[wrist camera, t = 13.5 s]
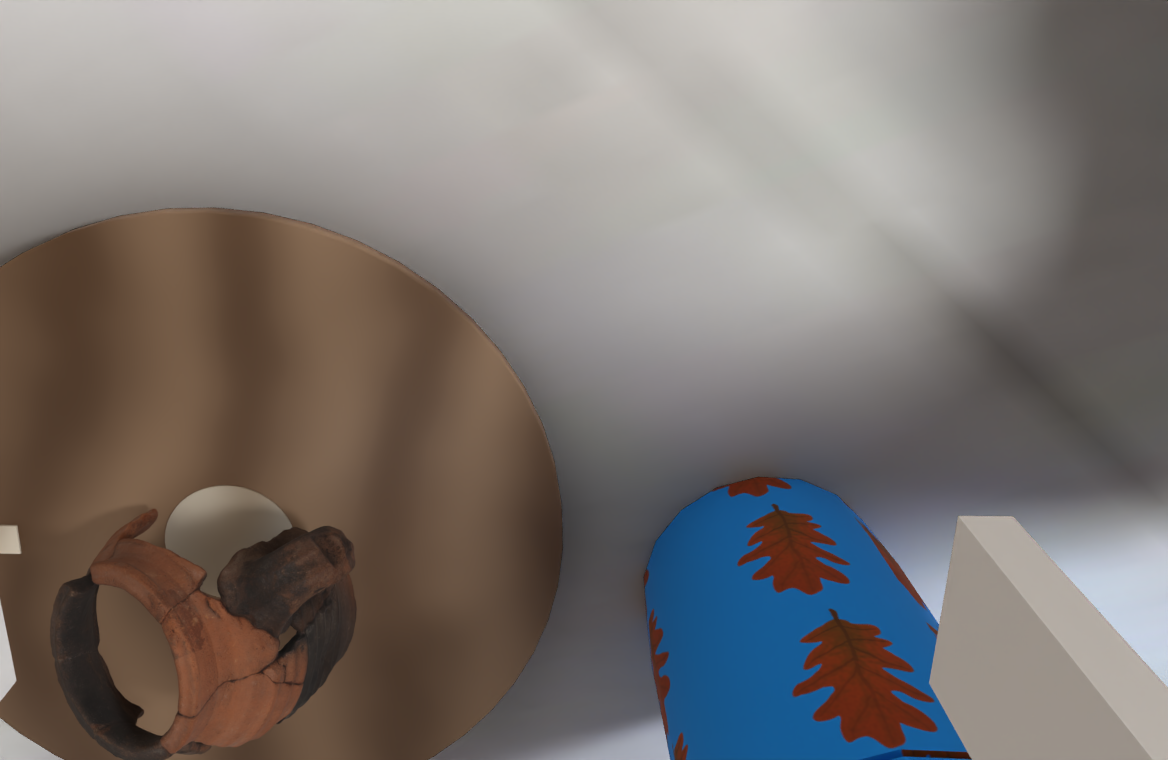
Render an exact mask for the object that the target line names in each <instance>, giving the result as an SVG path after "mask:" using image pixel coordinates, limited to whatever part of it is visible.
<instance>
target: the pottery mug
mask: <svg viewBox="0 0 1168 760" xmlns="http://www.w3.org/2000/svg"><path fill="white" fill-rule="evenodd" d="M157 517H158V511H157V509H151V510H149V511H148V512H146V513H143V514H140V515H139V516H137V517H136V518H134V519H133V520H132V521H130V522H129V523H128V524H126V525H124V526H123V527H121V528H120V529H119V530H117V531H116V532H115V533H114V534H113V535H112V536H111V537H110V539H109V540H108V541H107V542H106V544H105V546H104V547H103V548H102V549H101V551H100V552H99V553H98V555H97V557H96V558H95V559H94V560H93V562H92V564H91V566H90V567H89V569H88V571H87V574H86V576H83V577H81V578H78V579H74V580H71V581H68V582H65V583H63V584H62V586H61V587H60V589H59V591H58V594H57V596H56V599H55V602H54V605H53V611H52V615H51V620H50V622H51V624H50V643H51V648H52V655H53V657H54V659H55V670H56V674H57V677H58V682H59V684H60V686H61V688H62V690H63V692H64V695H65V698H66V701H67V703H68V705H69V707H70V708H71V710H72V712H73V713H74V715H75V717H76V719H77V720H78V722H79V724H81V726H82V727H83V728H84V729H85V730H86V732H87V733H88V734H89V735H90V737H91V738H93V739H94V740H96V741H97V743H98V744H99V745H100V746H102V747H103V748H104V749H106V750H107V751H108V752H110V753H111V754H113V755H114V756H115V757H119V758H121V759H123V760H166V759H168V758H170V757H171V756H172V755H173V754H175V753H177V754H184V755H193V754H203V753H205V752H207V751H208V750H210V749H211V747H212V746H211V745H215V746H218V747H228V746H229V747H239V746H241V745H243V744H244V743H246V742H248V741H250V740H254V739H258V738H260V737H261V736H263V735H264V734H265V733H267V732H268V731H269V730H270V729H271V728H272V727H273V726H274V725H275V724H280V723H281V722H282V721H283V720H285V719H287V718H289V717H291V716H292V715H293V714H294V713H295V712H296V711H297V710H298V708H300V707H302V706H303V705H304V704H305V703H306V702H307V701H308V700H309V699H310V697H311V696H312V695H314V694H315V693H316V691H317V690H318V688H320V687H321V686H322V685H323V684H324V683H325V681H326V680H327V678H328V675H329V674H330V672H331V671H332V669H333V667H334V666H335V665H336V664H337V663H338V662H339V660H340V659H341V658H342V657H343V656H344V654H345V653H346V651H347V649H348V647H349V644H350V642H351V640H352V637H353V633H354V628H355V622H356V612H357V606H356V600H355V597H354V589H353V585H352V581H351V578H350V575H349V573H350V572H351V571H352V570H353V568H354V566H355V555H354V545H353V543H352V542H351V541H350V540H349V539H347V537H346V536H345V534H344V533H343V531H341V530H339V529H336V528H334V527H331V526H322V527H319V528H317V529H314V530H312V531H310V532H308V531H306V530H303V529H300V528H298V527H292V528H291V529H287V530H283V531H282V532H281V533H280V534H278V535H277V536H276V537H273V538H272V539H271V540H270V541H268V542H265V541H261V542H258V543H256V544H254V545H252V546H250V547H248V548H243V549H241V550H239V551H237V552H236V553H235V554H234V555H233V556H232V558H231V559H230V561H229V563H228V564H227V565H226V566H225V567H224V568H223V569H222V571H221V572H220V574H219V577H218V579H217V589H218V592H219V595H220V597H221V598H220V599H216V598H213V597H210V596H208V595H207V594H206V593H204V592H202V591H201V590H200V587H201V586H202V585H203V582H204V580H205V579H206V577H207V572H206V570H204V569H203V568H202V567H200V566H198V565H196V564H194V563H192V562H190V561H188V560H187V559H185V558H182V557H180V556H179V555H178V554H176V553H174V552H173V551H171V550H169V549H165V548H161V547H158V546H155V545H153V544H151V543H149V542H146V541H143V540H139V539H134V538H135V537H137V536H139V535H140V534H142V533H144V532H145V531H146V530H148V529H149V528H150V527H151V526H152V524H154V522H155V521H156V520H157ZM99 585H108V586H113V587H117V588H121V589H123V590H125V591H126V592H128V593H129V594H130V595H132V596H133V597H134V598H136V599H137V600H138V601H139V602H140V603H141V604H142V605H143V606H144V607H145V608H146V609H147V610H148V612H149V613H150V614H151V615H152V616H153V617H154V618H155V619H156V620H157V622H158V623H160V624H161V626H162V629H163V632H164V634H165V636H166V639H167V641H168V643H169V646H170V649H171V652H172V655H173V659H174V663H175V667H176V671H177V677H178V688H179V698H178V712H177V714H176V716H175V719H174V721H173V724H172V725H171V727H170V729H169V730H168V731H167V732H166V733H165V734H164V735H162V736H160V735H156V734H153V733H151V732H148V731H146V730H144V729H142V728H140V727H138V726H136V724H137V719H138V718H140V717H142V716H143V714H144V710H143V709H142V708H141V707H140V706H138V705H136V704H133V703H131V702H130V701H128V700H127V699H125V698H124V696H123V695H122V694H121V693H120V691H119V690H118V689H117V688H116V686H115V685H114V682H113V679H112V677H111V675H110V672H109V669H108V666H107V664H106V663H105V661H104V659H103V657H102V656H101V655H100V653H99V651H98V646H99V643H100V635H99V627H98V621H97V612H96V600H97V593H98V589H99ZM289 626H292V627H293V628H294V629H295V630H296V631H297V632H296V635H294V636H293V637H292V638H291V639H290V641H289V642H288V643H287V644H286V645H285V646H284V647H283V648H282V649H281V650H280V651H279V647H280V640H279V636H280V635H281V634H283V633H285V632H286V631H287V630H288V628H289ZM195 741H196V742H195Z"/></svg>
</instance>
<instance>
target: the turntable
mask: <svg viewBox="0 0 1168 760" xmlns="http://www.w3.org/2000/svg"><path fill="white" fill-rule="evenodd" d="M151 509H157V511H158V517H157V520H156V521H155V522H154V524H152V526H151V527H150V528H149V529H148V530H146V531H145V532H144V533H142V534H140V535H139V536H137V537H135V538H134V539H139V540H143V541H146V542H149V543H151V544H153V545H155V546H158V547H161V548H165V549H169V550H171V551H173V552H174V553H176V554H178V555H179V556H180V557H182V558H185V559H187V560H188V561H190V562H192V563H194V564H196V565H198V566H200V567H202V568H203V569H204V570H206V572H207V577H206V579H205V580H204V582H203V585H202V586H201V587H200V590H201V591H202V592H204V593H206V594H207V595H208V596H210V597H213V598H216V599H220V598H221V597H220V595H219V592H218V589H217V579H218V577H219V574H220V572H221V571H222V569H223V568H224V567H225V566H226V565H227V564H228V563H229V561H230V559H231V558H232V556H233V555H234V554H235V553H236V552H237V551H239V550H241V549H243V548H248V547H250V546H252V545H254V544H256V543H258V542H261V541H265V542H268V541H270V540H271V539H272V538H273V537H276V536H277V535H278V534H280V533H281V532H282V531H283V530H287V529H291V528H292V527H298V528H300V529H303V530H306V531H308V532H310V531H312V530H314V529H317V528H319V527H322V526H331V527H334V528H336V529H339V530H341V531H343V533H344V534H345V536H346V537H347V539H349V540H350V541H351V542H352V543H353V545H354V555H355V566H354V568H353V570H352V571H351V572H350V573H349V575H350V578H351V581H352V585H353V589H354V597H355V600H356V606H357V612H356V622H355V628H354V633H353V637H352V640H351V642H350V644H349V647H348V649H347V651H346V653H345V654H344V656H343V657H342V658H341V659H340V660H339V662H338V663H337V664H336V665H335V666H334V667H333V669H332V671H331V672H330V674H329V675H328V678H327V680H326V681H325V683H324V684H323V685H322V686H321V687H320V688H318V690H317V691H316V693H315V694H314V695H312V696H311V697H310V699H309V700H308V701H307V702H306V703H305V704H304V705H303V706H302V707H300V708H298V710H297V711H296V712H295V713H294V714H293V715H292V716H291V717H289V718H287V719H285V720H283V721H282V722H281V723H280V724H275V725H274V726H273V727H272V728H271V729H270V730H269V731H268V732H267V733H265V734H264V735H263V736H261V737H260V738H258V739H254V740H250V741H248V742H246V743H244V744H243V745H241V746H239V747H229V746H228V747H218V746H215V745H211V746H212V747H211V749H210V750H208V751H207V752H205V753H203V754H193V755H184V754H177V753H175V754H173V755H172V756H171V757H170V758H168V759H166V760H428V759H430V758H432V757H434V756H435V755H437V754H438V753H439V752H441V751H442V750H444V749H445V748H447V747H448V746H449V745H451V744H452V743H454V742H455V741H457V740H458V739H459V738H461V737H462V736H464V735H465V734H466V733H467V732H468V731H469V730H470V729H471V728H473V727H474V726H475V725H476V724H477V723H478V722H479V721H480V720H481V719H483V718H484V717H485V716H486V715H487V714H488V713H489V712H490V711H491V710H492V709H493V708H494V707H495V705H496V704H497V703H498V702H499V701H500V700H501V698H502V697H503V696H504V695H505V694H506V692H507V691H508V690H509V689H510V688H511V687H512V685H513V684H514V683H515V681H516V680H517V678H518V677H519V675H520V673H521V672H522V670H523V669H524V667H525V665H526V664H527V662H528V661H529V659H530V658H531V656H532V654H533V653H534V651H535V648H536V646H537V644H538V642H539V639H540V637H541V635H542V633H543V630H544V628H545V626H546V624H547V622H548V619H549V615H550V612H551V608H552V605H553V601H554V598H555V594H556V590H557V587H558V581H559V573H560V566H561V558H562V550H563V541H562V506H561V497H560V491H559V485H558V479H557V473H556V467H555V461H554V458H553V455H552V452H551V449H550V446H549V443H548V440H547V437H546V433H545V430H544V427H543V424H542V422H541V420H540V418H539V416H538V414H537V412H536V410H535V407H534V405H533V403H532V401H531V399H530V397H529V395H528V393H527V391H526V389H525V387H524V385H523V384H522V382H521V381H520V379H519V378H518V376H517V375H516V373H515V372H514V370H513V369H512V367H511V366H510V364H509V363H508V361H507V360H506V358H505V357H504V355H503V354H502V352H501V351H500V350H499V349H498V348H497V346H496V345H495V344H494V343H493V342H492V341H491V340H490V338H489V337H488V336H487V335H486V334H485V333H484V332H483V330H482V329H481V328H480V327H479V326H478V325H477V324H476V322H475V321H474V320H473V319H472V318H471V317H470V316H469V315H467V314H466V313H465V312H464V311H463V310H462V309H461V308H460V307H458V306H457V305H456V304H455V303H454V302H453V301H452V300H450V299H449V298H448V297H447V296H446V295H445V294H444V293H443V292H441V291H440V290H439V289H438V288H436V287H435V286H434V285H432V284H431V283H429V282H428V281H426V280H425V279H423V278H422V277H420V276H419V275H417V274H416V273H414V272H413V271H412V270H410V269H409V268H407V267H406V266H404V265H403V264H401V263H400V262H398V261H396V260H394V259H392V258H390V257H388V256H386V255H384V254H382V253H380V252H378V251H377V250H375V249H373V248H371V247H369V246H367V245H365V244H363V243H361V242H359V241H357V240H354V239H352V238H349V237H346V236H343V235H341V234H338V233H335V232H333V231H330V230H327V229H324V228H322V227H319V226H316V225H313V224H310V223H306V222H302V221H297V220H293V219H289V218H285V217H280V216H276V215H272V214H267V213H262V212H253V211H243V210H234V209H224V208H170V209H160V210H154V211H147V212H141V213H134V214H128V215H121V216H117V217H114V218H110V219H107V220H103V221H100V222H97V223H93V224H90V225H86V226H83V227H80V228H76V229H73V230H71V231H69V232H67V233H65V234H62V235H60V236H58V237H56V238H54V239H52V240H49V241H47V242H45V243H43V244H41V245H38V246H36V247H34V248H32V249H30V250H28V251H26V252H24V253H22V254H20V255H18V256H17V257H15V258H14V259H12V260H11V261H9V262H8V263H6V264H4V265H3V266H1V267H0V601H1V606H2V611H3V616H4V621H5V626H6V631H7V636H8V641H9V646H10V651H11V656H12V661H13V666H14V671H15V676H16V682H15V684H14V685H13V686H12V687H11V689H10V690H9V691H8V692H7V694H6V695H5V696H4V697H3V699H2V700H1V701H0V718H1V719H2V720H4V721H5V722H6V723H7V724H9V725H10V726H11V727H13V728H14V729H15V730H16V731H18V732H19V733H20V734H22V735H23V736H25V737H27V738H28V739H30V740H32V741H33V742H35V743H36V744H38V745H40V746H41V747H43V748H44V749H46V750H48V751H49V752H51V753H52V754H54V755H56V756H58V757H60V758H62V759H64V760H123V759H121V758H119V757H115V756H114V755H113V754H111V753H110V752H108V751H107V750H106V749H104V748H103V747H102V746H100V745H99V744H98V743H97V741H96V740H94V739H93V738H91V737H90V735H89V734H88V733H87V732H86V730H85V729H84V728H83V727H82V726H81V724H79V722H78V720H77V719H76V717H75V715H74V713H73V712H72V710H71V708H70V707H69V705H68V703H67V701H66V698H65V695H64V692H63V690H62V688H61V686H60V684H59V682H58V677H57V674H56V670H55V659H54V657H53V655H52V648H51V643H50V624H51V622H50V620H51V615H52V611H53V605H54V602H55V599H56V596H57V594H58V591H59V589H60V587H61V586H62V584H63V583H65V582H68V581H71V580H74V579H78V578H81V577H83V576H86V574H87V571H88V569H89V567H90V566H91V564H92V562H93V560H94V559H95V558H96V557H97V555H98V553H99V552H100V551H101V549H102V548H103V547H104V546H105V544H106V542H107V541H108V540H109V539H110V537H111V536H112V535H113V534H114V533H115V532H116V531H117V530H119V529H120V528H121V527H123V526H124V525H126V524H128V523H129V522H130V521H132V520H133V519H134V518H136V517H137V516H139V515H140V514H143V513H146V512H148V511H149V510H151ZM96 612H97V621H98V627H99V635H100V643H99V646H98V651H99V653H100V655H101V656H102V657H103V659H104V661H105V663H106V664H107V666H108V669H109V672H110V675H111V677H112V679H113V682H114V685H115V686H116V688H117V689H118V690H119V691H120V693H121V694H122V695H123V696H124V698H125V699H127V700H128V701H130V702H131V703H133V704H136V705H138V706H140V707H141V708H142V709H143V710H144V714H143V716H142V717H140V718H138V719H137V724H136V726H138V727H140V728H142V729H144V730H146V731H148V732H151V733H153V734H156V735H160V736H162V735H164V734H165V733H166V732H167V731H168V730H169V729H170V727H171V725H172V724H173V721H174V719H175V716H176V714H177V712H178V698H179V688H178V677H177V671H176V667H175V663H174V659H173V655H172V652H171V649H170V646H169V643H168V641H167V639H166V636H165V634H164V632H163V629H162V626H161V624H160V623H158V622H157V620H156V619H155V618H154V617H153V616H152V615H151V614H150V613H149V612H148V610H147V609H146V608H145V607H144V606H143V605H142V604H141V603H140V602H139V601H138V600H137V599H136V598H134V597H133V596H132V595H130V594H129V593H128V592H126V591H125V590H123V589H121V588H117V587H113V586H108V585H99V589H98V593H97V600H96ZM296 632H297V631H296V630H295V629H294V628H293V627H292V626H289V628H288V630H287V631H286V632H285V633H283V634H281V635H280V636H279V640H280V647H279V651H280V650H281V649H282V648H283V647H284V646H285V645H286V644H287V643H288V642H289V641H290V639H291V638H292V637H293V636H294V635H296ZM195 742H196V741H195Z"/></svg>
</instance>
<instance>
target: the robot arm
mask: <svg viewBox="0 0 1168 760" xmlns="http://www.w3.org/2000/svg"><path fill="white" fill-rule="evenodd" d="M15 682H16V676H15V671H14V666H13V661H12V656H11V651H10V646H9V641H8V636H7V631H6V626H5V621H4V616H3V611H2V606H1V601H0V701H1V700H2V699H3V697H4V696H5V695H6V694H7V692H8V691H9V690H10V689H11V687H12V686H13V685H14V684H15ZM929 684H930V686H931V687H932V689H933V691H934V693H935V695H936V696H937V698H938V700H939V702H940V704H941V705H942V707H943V709H944V711H945V713H946V714H947V716H948V718H949V720H950V721H951V723H952V725H953V727H954V729H955V730H956V732H957V734H958V736H959V738H960V739H961V741H962V743H963V745H964V747H965V748H966V750H967V752H968V754H969V756H970V757H971V759H972V760H1168V687H1167V686H1166V685H1165V684H1164V683H1163V682H1162V681H1161V680H1160V678H1159V677H1158V676H1157V675H1156V674H1155V673H1154V672H1153V671H1152V670H1151V669H1150V667H1149V666H1148V665H1147V664H1146V663H1145V662H1144V661H1143V660H1142V659H1141V657H1140V656H1139V655H1138V654H1137V653H1136V652H1135V651H1134V650H1133V649H1132V648H1131V646H1130V645H1129V644H1128V643H1127V642H1126V641H1125V640H1124V639H1123V638H1122V636H1121V635H1120V634H1119V633H1118V632H1117V631H1116V630H1115V629H1114V628H1113V627H1112V625H1111V624H1110V623H1109V622H1108V621H1107V620H1106V619H1105V618H1104V617H1103V615H1102V614H1101V613H1100V612H1099V611H1098V610H1097V609H1096V608H1095V607H1094V605H1093V604H1092V603H1091V602H1090V601H1089V600H1088V599H1087V598H1086V597H1085V596H1084V594H1083V593H1082V592H1081V591H1080V590H1079V589H1078V588H1077V587H1076V586H1075V584H1074V583H1073V582H1072V581H1071V580H1070V579H1069V578H1068V577H1067V576H1066V575H1065V573H1064V572H1063V571H1062V570H1061V569H1060V568H1059V567H1058V566H1057V565H1056V563H1055V562H1054V561H1053V560H1052V559H1051V558H1050V557H1049V556H1048V555H1047V553H1046V552H1045V551H1044V550H1043V549H1042V548H1041V547H1040V546H1039V545H1038V544H1037V542H1036V541H1035V540H1034V539H1033V538H1032V537H1031V536H1030V535H1029V534H1028V532H1027V531H1026V530H1025V529H1024V528H1023V527H1022V526H1021V525H1020V524H1019V523H1018V521H1017V520H1016V519H1015V518H1014V517H1013V516H958V520H957V525H956V531H955V537H954V543H953V548H952V554H951V560H950V566H949V571H948V577H947V583H946V589H945V594H944V600H943V606H942V612H941V617H940V623H939V629H938V635H937V640H936V646H935V652H934V658H933V663H932V669H931V675H930V681H929Z"/></svg>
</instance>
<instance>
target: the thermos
mask: <svg viewBox="0 0 1168 760" xmlns="http://www.w3.org/2000/svg"><path fill="white" fill-rule="evenodd" d="M644 589H645V604H646V616H647V626H648V635H649V644H650V653H651V662H652V669H653V674H654V679H655V684H656V689H657V694H658V699H659V704H660V709H661V714H662V719H663V724H664V729H665V734H666V739H667V744H668V749H669V754H670V759H671V760H972V759H971V757H970V756H969V754H968V752H967V750H966V748H965V747H964V745H963V743H962V741H961V739H960V738H959V736H958V734H957V732H956V730H955V729H954V727H953V725H952V723H951V721H950V720H949V718H948V716H947V714H946V713H945V711H944V709H943V707H942V705H941V704H940V702H939V700H938V698H937V696H936V695H935V693H934V691H933V689H932V687H931V686H930V684H929V681H930V675H931V669H932V663H933V658H934V652H935V646H936V640H937V635H938V629H939V624H938V623H937V621H936V620H935V618H934V617H933V615H932V614H931V612H930V611H929V609H928V608H927V606H926V605H925V603H924V602H923V600H922V599H921V597H920V596H919V594H918V593H917V591H916V590H915V588H914V587H913V585H912V584H911V583H910V581H909V580H908V578H907V577H906V575H905V574H904V572H903V571H902V569H901V568H900V566H899V565H898V563H897V562H896V561H895V560H894V559H893V557H892V556H891V555H890V554H889V552H888V551H887V550H886V549H885V547H884V546H883V545H882V544H881V543H880V541H879V540H878V539H877V538H876V536H875V535H874V534H873V533H872V532H871V530H870V529H869V528H868V527H867V525H866V524H865V523H864V522H863V521H862V520H861V519H860V518H859V517H858V516H857V515H856V514H855V513H854V512H853V511H852V510H851V509H850V508H849V507H848V506H847V505H846V504H845V503H844V502H843V501H842V500H841V499H840V498H839V497H838V496H837V495H836V494H833V493H831V492H829V491H826V490H824V489H822V488H819V487H817V486H814V485H812V484H810V483H807V482H805V481H803V480H800V479H785V478H769V477H756V478H752V479H748V480H745V481H741V482H737V483H733V484H729V485H725V486H721V487H717V488H716V489H714V490H712V491H711V492H709V493H708V494H706V495H704V496H703V497H701V498H700V499H698V500H697V501H695V502H693V503H692V504H690V505H689V506H687V507H685V508H684V509H682V510H681V511H680V512H679V513H678V515H677V516H676V517H675V518H674V520H673V521H672V522H671V523H670V525H669V526H668V527H667V528H666V529H665V531H664V532H663V533H662V534H661V536H660V537H659V538H658V539H657V541H656V542H655V545H654V548H653V551H652V554H651V557H650V560H649V563H648V566H647V569H646V572H645V575H644Z"/></svg>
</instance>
